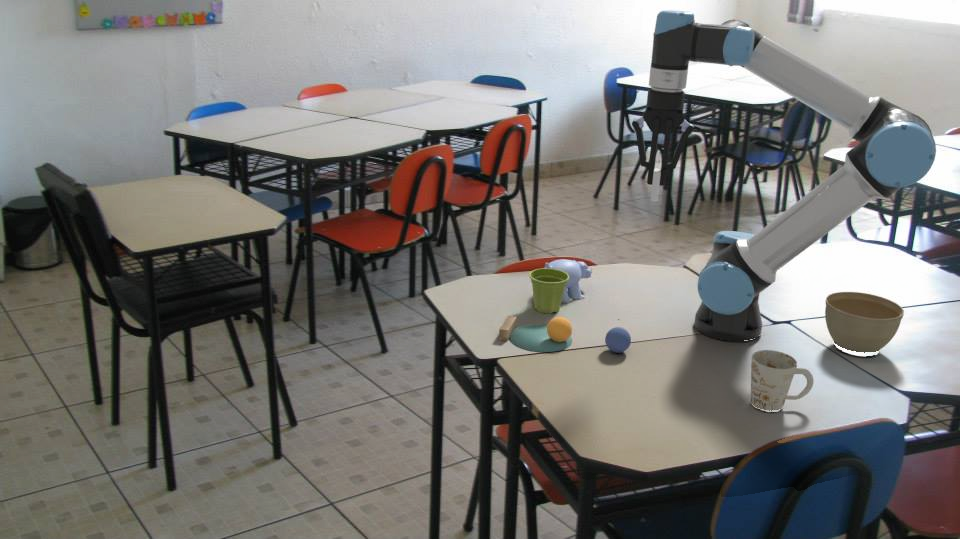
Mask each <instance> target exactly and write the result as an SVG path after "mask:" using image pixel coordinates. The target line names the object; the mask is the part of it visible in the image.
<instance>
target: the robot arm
mask: <svg viewBox="0 0 960 539" xmlns="http://www.w3.org/2000/svg"><path fill="white" fill-rule="evenodd" d="M652 36H653V40H652V41H653V43H652V51H651V52H652V53H651V61H650V67H649V68H650V70H649V77H648V78H649V80H648V86H649V87H650V88H649V89H648V90H647V95H646V96H647V97H646V98H647V99H646V107H645V110H644V111H643V114H642V116H640V117H639V118H634V119H633V120H632V122H631V125H632V126H631V127H632V128H633V130H634V131H635V135H636V143H637V150H638V156H639V163H640V164H639V165H640V166H641V167H644V168H646V169H647V171H648V172H647V180H646V183H647V185H651V191H650V192H651V193H650V200H649V201H650V202H657V203H658V202H659V194H660V186H662V187H664V186H665V185H666V180H667V172H668V171H670V170H675V169H676V167H677V165H678V162H679V159H680V158H681V155H682V152H683V149H684V147H685V144H686V142H687V139H688V137H689V136H690V135H691V134H692V132H693V131H694V128H695V127H694V124H692V123H690V122H688V121H687V120H686V119H685V117H686V116H685V114H684V106H685V105H684V104H685V97H686V96H685V95H686V92H685V91H684V90H685V89H686V87H687V80H688V72H689V63H690V62H694V63H697V62H698V63H707V64H708V63H709V64H713V65H714V64H716V65H727V66H729V67H733V66H739V67H741V68H743V69H745V70H747V71H749V72H750V73H752V74H754V76H756V77H758V78H760V79H762V80H763V81H765V82H767V83H768V84H771V85H772V86H774V87H775V88H777V89H778V90H781V92H782V91H783V92H784V93H785V94H787V95H788V96H790V97H792V98H794V99H796V100H797V101H799V102H801V103H802V104H804V105H806V106H807V107H809V108H811V109H813V110H814V111H815V112H818V113H819V114H821V115H822V116H824V117H826V118H828V119H829V120H830V121H832V122H834V123H835V124H837V125H839V126H841V127H842V128H844V129H846V130H848V133H849V138H851V139H853V140H855V142H856V141H857V142H858V144H856V145H855V146H854V147H852V148H851V149H850V150H849V151H847V152H846V153H845V159H844V164H843V165H842V166H841V167H839V168H838V169H837V170H835V172H833V173H832V174H831V175H830V176H828V177H826V178H825V180H823V181H821V183H819V184H818V185H817V186H815V187H814V188H812V189H811V190H810V191H809V192H807V193H806V194H805V195H804V196H803V197H801V198H800V199H799V200H798V201H797V202H795V203H794V204H792V206H790V207H789V208H788V209H786V210H785V211H783V212H782V213H781V214H780V215H779V216H777V217H776V218H775V219H774V220H772V221H771V222H770V223H768V224H767V225H765V227H763V228H762V229H760V231H758V232H757V233H756V234H753V233H749V232H743V231H735V230H734V231H733V230H721V231H718V232H716V233H715V235H714V238H713V241H712V244H713V245H712V251H711V255H710V257H709V259H708V261H707V262H706V264H705V266H704V267H703V268H702V269H701V271H700V273H699V274H698V275H699V276H698V280H697V292H698V296H699V298H700V300H701V303H700V305H699V306H698V309H697V311H696V313H695V315H694V316H695V317H694V322H693V326H694V327H695V329H697V331H698V332H700V333H701V334H703V335H706V336H708V337H711V338H713V339H716V338H717V340H720V339H722V340H721V341H725V340H728V341H727V342H734V341H744V340H750V339H754V338H756V337H758V336H759V335H760V334H761V335H762V330H763V321H762V316H761V315H762V314H761V310H760V304H759V299H760V294H761V293H762V292H763V291H764V290H766V289H767V288H769V287H770V286H771V285H773V283H775V282H776V277H777V272H778V271H779V270H780V269H782V268H783V267H784V266H786V265H787V264H788V263H789V262H791V261H792V260H794V258H796V257H797V256H799V255H801V254H802V253H803V252H805V251H806V249H808V248H810V246H812V245H813V244H815V243H817V241H819V240H820V239H821V238H823V237H824V236H826V235H827V234H829V232H831V231H832V230H834V229H835V228H836V227H838V226H839V225H840V224H841V223H843V222H844V221H845V220H847V219H849V217H851V216H852V215H853V214H855V213H856V212H859V210H860V209H861V208H863V207H864V206H865V205H867V204H868V203H870V202H871V201H873V200H874V199H884V200H887V199H888V198H890V197H891V196H892V195H893V194H895V193H896V192H898V191H899V190H901V189H902V188H904V187H908V186H911V185H914V184H916V183H917V182H919V181H920V180H921V179H923V178H924V177H925V176H926V175H927V174H928V173H929V171H930V170H931V168H932V166H933V165H934V162H935V159H936V154H937V147H936V146H937V145H936V141H935V138H934V136H933V133H932V129H931V128H930V125H929V123H928V122H926V121H925V119H923V118H922V117H921V116H919V115H917V114H915V113H913V112H911V111H910V110H907V109H904V108H902V107H900V106H898V105H896V104H894V103H892V102H889V101H888V100H886V99H885V98H883V97H881V96H880V95H878V96H875V97H874V96H873V97H871V96H869V95H867V94H865V93H864V92H862V91H860V90H858V89H856V88H855V87H854V86H851V85H850V84H848V83H847V82H844V81H843V80H841V79H839V78H837V77H836V76H835V75H833V74H831V73H829V72H827V71H825V70H824V69H822V68H821V67H819V66H816V65H815V64H813V63H812V62H810V61H808V60H807V59H805V58H803V57H802V56H800V55H798V54H796V53H794V52H793V51H791V50H789V48H788V49H787V48H786V47H785V46H782V45H781V44H779V43H777V42H776V41H773V40H772V39H770V38H768V37H767V36H764V35H762V34H761V33H760V32H758V31H757V30H755V29H753V28H752V27H751V26H750V24H748V23H747V22H745V21H744V20H741V19H728V20H726V21H724V22H722V23H720V24H712V23H710V24H709V23H708V24H707V23H700V22H696V20H695V14H694V13H693V12H691V11H684V10H672V9H671V10H667V9H666V10H661V11H659V12H658V13H657V16H656V20H655V27H654V32H653V35H652ZM644 122H645V124H646V126H647V127H648V129H649V131H650V132H651V144H650V151H649V152H650V153H649V160H648V159H647V154H646V153H647V152H646V144H645V138H644V132H643V131H644V129H643V128H644V127H645V124H644ZM680 126H681V132H682V133H681V135H680V136H679V137H680V138H679V140H678V143H677V146H676V147H675V151H674V154H673V156H672V159H671V161H670V162H669V154H670V147H671V145H670V144H671V139H672V138H671V137H672V134H674V133H675V132H676V130H677V129H679V127H680ZM661 134H662V135H664V137H663V138H664V140H663V147H662V149H663V150H662V157H661V166H660V168H657V167H656V160H657V151H658V143H659V135H661ZM655 167H656V168H655ZM761 335H760V336H761ZM760 336H759V337H760ZM759 337H758V338H759ZM754 340H755V339H754ZM744 342H745V341H744Z"/></svg>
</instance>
